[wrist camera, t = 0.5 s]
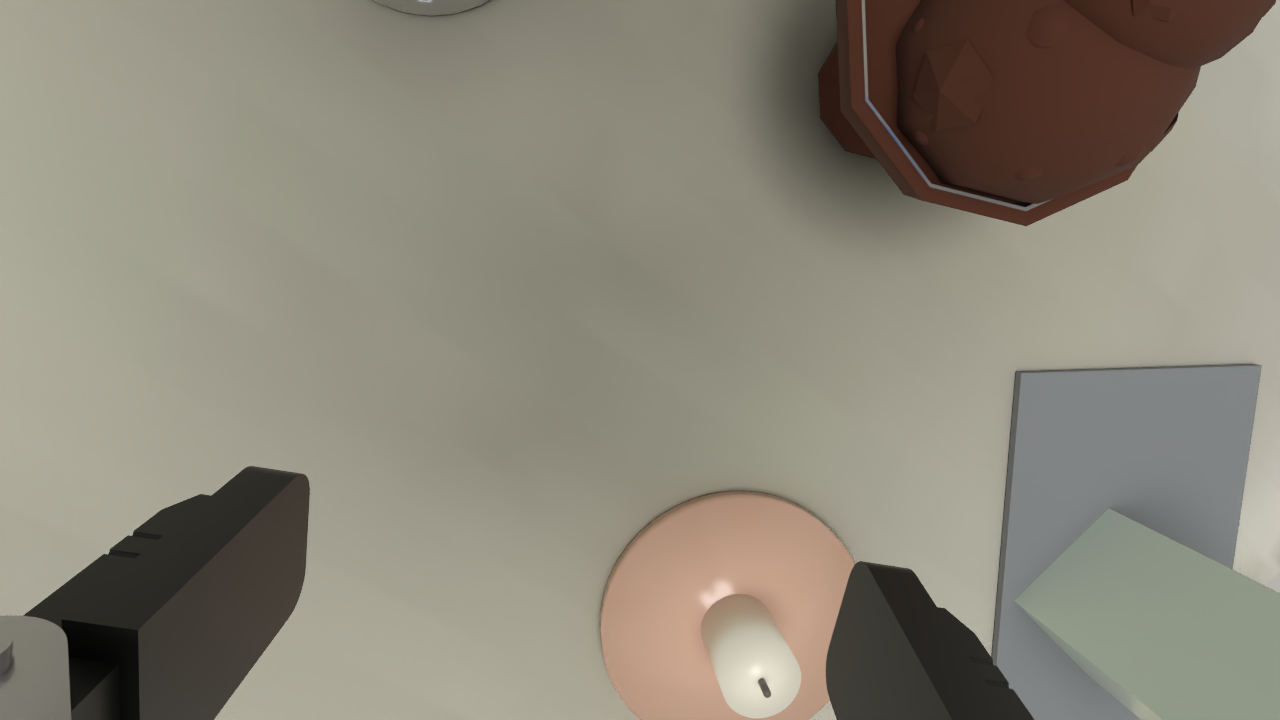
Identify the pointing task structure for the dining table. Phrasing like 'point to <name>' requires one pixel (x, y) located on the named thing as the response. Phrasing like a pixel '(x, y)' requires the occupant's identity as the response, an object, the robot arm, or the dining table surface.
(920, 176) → the ice cream bowl
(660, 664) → the saucer
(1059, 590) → the tall green carton
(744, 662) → the candle
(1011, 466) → the mat
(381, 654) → the dining table surface
